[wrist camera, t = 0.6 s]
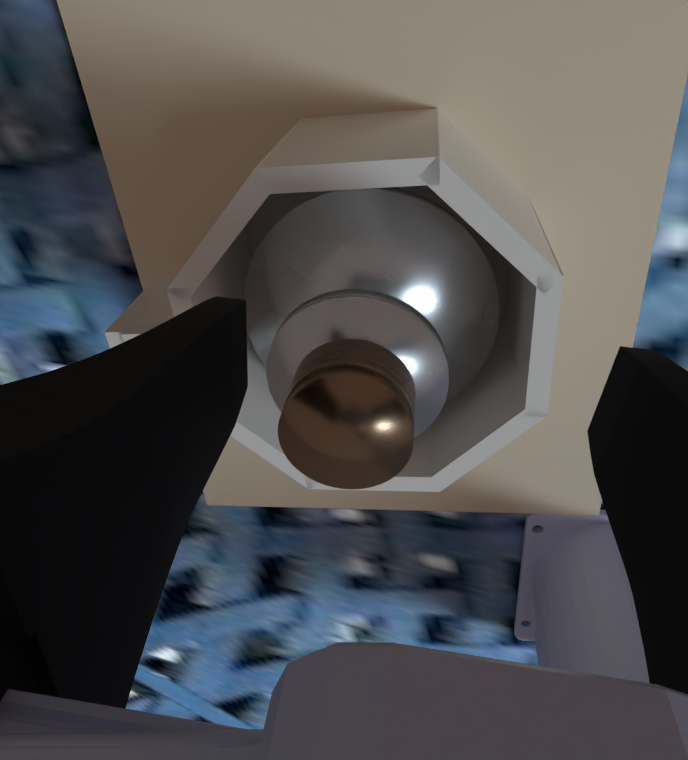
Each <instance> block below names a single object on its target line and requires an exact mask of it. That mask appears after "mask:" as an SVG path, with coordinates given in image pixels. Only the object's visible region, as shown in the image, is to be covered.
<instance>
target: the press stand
mask: <svg viewBox="0 0 688 760" xmlns="http://www.w3.org/2000/svg"><path fill="white" fill-rule="evenodd" d="M57 3H58V6H59V10H60V13H61V17H62V20H63V23H64V27H65V30H66V33H67V37H68V40H69V43H70V47H71V50H72V53H73V57H74V60H75V63H76V67H77V70H78V74H79V77H80V80H81V84H82V87H83V90H84V94H85V97H86V100H87V104H88V107H89V110H90V114H91V117H92V121H93V124H94V127H95V131H96V134H97V137H98V141H99V144H100V147H101V151H102V154H103V157H104V161H105V164H106V167H107V171H108V174H109V178H110V181H111V184H112V188H113V191H114V194H115V198H116V201H117V204H118V208H119V211H120V214H121V218H122V221H123V224H124V228H125V231H126V235H127V238H128V241H129V245H130V248H131V251H132V255H133V258H134V261H135V265H136V268H137V271H138V275H139V278H140V282H141V285H142V288H143V292H142V293H141V294H140V295H139V296H138V297H137V298H136V299H135V300H134V301H133V302H132V303H131V304H130V305H129V307H128V308H127V309H126V310H125V311H124V312H123V313H122V314H121V315H120V316H119V317H118V318H117V319H116V321H115V322H114V323H113V324H112V325H111V326H110V327H109V328H108V329H107V330H106V331H105V335H106V338H107V341H108V344H109V346H110V348H112V347H115V346H117V345H119V344H121V343H123V342H125V341H127V340H130V339H132V338H134V337H136V336H138V335H140V334H142V333H144V332H147V331H149V330H150V329H152V328H154V327H156V326H158V325H160V324H162V323H164V322H166V321H168V320H169V319H171V318H173V317H175V316H177V315H179V314H181V313H183V312H184V311H186V310H188V309H190V308H192V307H194V306H196V305H198V304H200V303H202V302H204V301H206V300H208V299H210V298H213V297H215V296H218V297H226V298H234V299H242V300H243V289H244V283H245V277H246V274H247V271H248V267H249V264H250V262H251V260H252V258H253V255H254V253H255V251H256V249H257V248H258V246H259V245H260V243H261V242H262V240H263V239H264V237H265V236H266V234H267V233H268V231H269V230H270V229H271V228H272V226H273V225H274V224H275V223H276V222H277V221H278V220H279V219H280V218H281V217H282V216H283V215H285V214H286V213H287V212H288V211H289V210H291V209H292V208H293V207H295V206H296V205H298V204H300V203H301V202H303V201H305V200H306V199H308V198H310V197H313V196H315V195H318V194H320V193H322V192H325V191H333V190H351V189H369V188H387V187H397V188H400V189H404V190H408V191H411V192H415V193H417V194H419V195H422V196H424V197H426V198H429V199H431V200H433V201H434V202H436V203H438V204H439V205H441V206H443V207H444V208H446V209H447V210H449V211H450V212H451V213H452V214H454V215H455V216H456V217H457V218H459V219H460V220H461V221H462V222H463V223H464V224H465V225H466V226H467V227H468V229H469V230H470V231H471V232H472V233H473V234H474V236H475V237H476V238H477V240H478V241H479V243H480V244H481V246H482V247H483V249H484V251H485V253H486V255H487V257H488V259H489V261H490V264H491V267H492V270H493V273H494V276H495V280H496V285H497V291H498V297H499V322H498V330H497V334H496V337H495V341H494V344H493V347H492V349H491V351H490V353H489V356H488V358H487V360H486V361H485V363H484V364H483V366H482V368H481V369H480V371H479V372H478V373H477V374H476V376H475V377H474V378H473V379H472V380H471V382H470V383H469V384H468V385H466V386H465V387H464V388H463V389H462V390H461V391H460V392H459V393H457V394H456V395H455V396H453V397H452V398H450V399H449V400H447V401H446V402H445V403H444V405H443V408H442V410H441V411H440V413H439V415H438V416H437V418H436V419H435V420H434V422H433V423H432V424H431V425H430V426H429V427H428V428H427V429H426V430H425V431H424V432H422V433H421V434H420V435H418V436H417V437H415V438H414V442H413V450H412V454H411V457H410V459H409V461H408V463H407V464H406V466H405V467H404V468H403V469H402V471H401V472H400V473H398V474H397V475H396V476H395V477H393V478H392V479H390V480H389V481H387V482H385V483H383V484H380V485H377V486H374V487H370V488H364V489H340V488H334V487H330V486H326V485H324V484H321V483H318V482H316V481H314V480H312V479H310V478H308V477H307V476H305V475H304V474H302V473H301V472H300V471H298V470H297V469H296V468H295V467H294V466H293V465H292V464H291V463H290V461H289V460H288V459H287V457H286V456H285V454H284V453H283V451H282V448H281V446H280V443H279V439H278V423H279V419H280V416H281V411H280V410H279V409H278V407H277V405H276V404H275V402H274V400H273V398H272V395H271V393H270V390H269V386H268V383H267V375H266V367H265V365H264V364H263V363H262V361H261V360H260V358H259V356H258V354H257V353H256V351H255V349H254V347H253V345H252V342H251V340H250V337H249V335H248V331H247V367H248V387H247V391H246V394H245V397H244V400H243V403H242V407H241V410H240V413H239V416H238V418H237V421H236V424H235V427H234V429H233V431H232V433H231V435H230V437H229V439H228V441H227V443H226V445H225V447H224V449H223V451H222V453H221V456H220V457H219V459H218V461H217V463H216V465H215V467H214V469H213V471H212V473H211V475H210V477H209V479H208V481H207V483H206V485H205V487H204V489H203V493H204V496H205V500H206V503H207V505H219V506H258V507H296V508H334V509H373V510H411V511H450V512H488V513H527V514H565V515H599V512H600V507H601V502H602V498H601V495H600V492H599V489H598V486H597V482H596V479H595V476H594V471H593V465H592V460H591V454H590V447H589V440H588V432H587V430H588V428H589V425H590V423H591V420H592V418H593V415H594V412H595V410H596V407H597V405H598V402H599V399H600V397H601V394H602V392H603V389H604V386H605V384H606V381H607V379H608V376H609V373H610V371H611V368H612V366H613V363H614V360H615V358H616V355H617V353H618V350H619V347H620V346H623V347H631V348H633V343H634V338H635V333H636V328H637V323H638V318H639V313H640V308H641V303H642V298H643V293H644V288H645V283H646V278H647V273H648V268H649V263H650V258H651V253H652V248H653V243H654V238H655V233H656V228H657V223H658V218H659V213H660V208H661V203H662V198H663V194H664V189H665V184H666V179H667V174H668V169H669V164H670V159H671V154H672V149H673V144H674V139H675V134H676V129H677V124H678V119H679V114H680V109H681V104H682V99H683V94H684V89H685V84H686V79H687V74H688V0H57Z"/></svg>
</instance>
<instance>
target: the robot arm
mask: <svg viewBox="0 0 688 760" xmlns="http://www.w3.org/2000/svg"><path fill="white" fill-rule="evenodd" d="M247 387H248V367H247V322H246V300H242V299H234V298H226V297H218V296H215V297H213V298H210V299H208V300H206V301H204V302H202V303H200V304H198V305H196V306H194V307H192V308H190V309H188V310H186V311H184V312H183V313H181V314H179V315H177V316H175V317H173V318H171V319H169V320H168V321H166V322H164V323H162V324H160V325H158V326H156V327H154V328H152V329H150V330H149V331H147V332H144V333H142V334H140V335H138V336H136V337H134V338H132V339H130V340H127V341H125V342H123V343H121V344H119V345H117V346H115V347H112V348H110V349H108V350H106V351H104V352H101V353H99V354H96V355H94V356H91V357H89V358H86V359H84V360H81V361H78V362H76V363H73V364H70V365H67V366H64V367H62V368H59V369H56V370H53V371H50V372H47V373H43V374H40V375H36V376H32V377H29V378H25V379H22V380H18V381H14V382H11V383H7V384H3V385H0V760H688V371H686V370H685V369H683V368H682V367H680V366H679V365H677V364H676V363H674V362H673V361H671V360H670V359H668V358H667V357H665V356H663V355H661V354H660V353H658V352H656V351H654V350H647V349H639V348H631V347H623V346H620V347H619V350H618V353H617V355H616V358H615V360H614V363H613V366H612V368H611V371H610V373H609V376H608V379H607V381H606V384H605V386H604V389H603V392H602V394H601V397H600V399H599V402H598V405H597V407H596V410H595V412H594V415H593V418H592V420H591V423H590V425H589V428H588V430H587V432H588V440H589V447H590V454H591V460H592V465H593V471H594V476H595V479H596V482H597V486H598V489H599V492H600V495H601V498H602V501H603V504H604V507H605V510H600V512H599V515H565V514H527V515H526V521H525V531H524V540H523V549H522V559H521V568H520V577H519V586H518V596H517V605H516V614H515V624H514V633H515V637H516V638H518V639H520V640H524V641H535V645H536V651H537V658H538V664H539V666H537V665H531V664H524V663H518V662H512V661H505V660H499V659H493V658H486V657H480V656H474V655H467V654H461V653H455V652H448V651H442V650H436V649H429V648H423V647H417V646H410V645H404V644H398V643H347V642H338V643H336V644H333V645H331V646H328V647H326V648H323V649H321V650H318V651H316V652H313V653H311V654H308V655H306V656H303V657H301V658H298V659H296V660H294V661H292V662H290V663H288V664H287V666H286V668H285V670H284V671H283V673H282V675H281V677H280V679H279V681H278V682H277V684H276V686H275V688H274V690H273V692H272V696H271V700H270V704H269V709H268V713H267V717H266V722H265V726H264V729H242V728H236V727H230V726H224V725H218V724H212V723H206V722H201V721H195V720H189V719H183V718H177V717H171V716H165V715H159V714H153V713H148V712H142V711H136V710H130V709H125V708H126V704H127V701H128V697H129V694H130V691H131V687H132V684H133V680H134V677H135V674H136V671H137V668H138V664H139V661H140V658H141V655H142V652H143V649H144V646H145V642H146V639H147V636H148V633H149V630H150V627H151V623H152V620H153V617H154V614H155V612H156V609H157V606H158V603H159V600H160V597H161V594H162V591H163V588H164V585H165V582H166V579H167V576H168V573H169V571H170V568H171V565H172V562H173V560H174V557H175V554H176V551H177V549H178V546H179V543H180V541H181V538H182V535H183V532H184V530H185V527H186V525H187V523H188V521H189V518H190V516H191V514H192V511H193V509H194V507H195V505H196V503H197V501H198V499H199V497H200V495H201V493H202V491H203V489H204V487H205V485H206V483H207V481H208V479H209V477H210V475H211V473H212V471H213V469H214V467H215V465H216V463H217V461H218V459H219V457H220V456H221V453H222V451H223V449H224V447H225V445H226V443H227V441H228V439H229V437H230V435H231V433H232V431H233V429H234V427H235V424H236V421H237V418H238V416H239V413H240V410H241V407H242V403H243V400H244V397H245V394H246V391H247ZM537 525H539V527H534V526H537Z"/></svg>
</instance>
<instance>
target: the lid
mask: <svg viewBox="0 0 688 760" xmlns="http://www.w3.org/2000/svg"><path fill="white" fill-rule="evenodd" d="M243 300H246V322H247V331H248V335H249V337H250V340H251V342H252V345H253V347H254V349H255V351H256V353H257V354H258V356H259V358H260V360H261V361H262V363H263V364H264V365H265V367H266V375H267V383H268V386H269V390H270V393H271V395H272V398H273V400H274V402H275V404H276V405H277V407H278V409H279V410H280V411H281V416H280V419H279V423H278V439H279V443H280V446H281V448H282V451H283V453H284V454H285V456H286V457H287V459H288V460H289V461H290V463H291V464H292V465H293V466H294V467H295V468H296V469H297V470H298V471H300V472H301V473H302V474H304V475H305V476H307V477H308V478H310V479H312V480H314V481H316V482H318V483H321V484H324V485H326V486H330V487H334V488H340V489H364V488H370V487H374V486H377V485H380V484H383V483H385V482H387V481H389V480H390V479H392V478H393V477H395V476H396V475H397V474H398V473H400V472H401V471H402V469H403V468H404V467H405V466H406V464H407V463H408V461H409V459H410V457H411V454H412V450H413V442H414V438H415V437H417V436H418V435H420V434H421V433H422V432H424V431H425V430H426V429H427V428H428V427H429V426H430V425H431V424H432V423H433V422H434V420H435V419H436V418H437V416H438V415H439V413H440V411H441V410H442V408H443V405H444V403H445V402H446V401H447V400H449V399H450V398H452V397H453V396H455V395H456V394H457V393H459V392H460V391H461V390H462V389H463V388H464V387H465V386H466V385H468V384H469V383H470V382H471V380H472V379H473V378H474V377H475V376H476V374H477V373H478V372H479V371H480V369H481V368H482V366H483V364H484V363H485V361H486V360H487V358H488V356H489V353H490V351H491V349H492V347H493V344H494V341H495V337H496V334H497V330H498V322H499V297H498V291H497V285H496V280H495V276H494V273H493V270H492V267H491V264H490V261H489V259H488V257H487V255H486V253H485V251H484V249H483V247H482V246H481V244H480V243H479V241H478V240H477V238H476V237H475V236H474V234H473V233H472V232H471V231H470V230H469V229H468V227H467V226H466V225H465V224H464V223H463V222H462V221H461V220H460V219H459V218H457V217H456V216H455V215H454V214H452V213H451V212H450V211H449V210H447V209H446V208H444V207H443V206H441V205H439V204H438V203H436V202H434V201H433V200H431V199H429V198H426V197H424V196H422V195H419V194H417V193H415V192H411V191H408V190H404V189H400V188H397V187H387V188H369V189H351V190H333V191H325V192H322V193H320V194H318V195H315V196H313V197H310V198H308V199H306V200H305V201H303V202H301V203H300V204H298V205H296V206H295V207H293V208H292V209H291V210H289V211H288V212H287V213H286V214H285V215H283V216H282V217H281V218H280V219H279V220H278V221H277V222H276V223H275V224H274V225H273V226H272V228H271V229H270V230H269V231H268V233H267V234H266V236H265V237H264V239H263V240H262V242H261V243H260V245H259V246H258V248H257V249H256V251H255V253H254V255H253V258H252V260H251V262H250V264H249V267H248V271H247V274H246V277H245V283H244V289H243Z"/></svg>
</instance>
